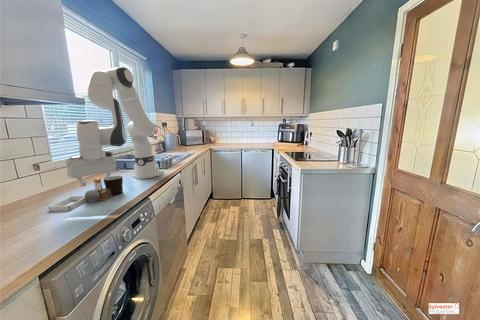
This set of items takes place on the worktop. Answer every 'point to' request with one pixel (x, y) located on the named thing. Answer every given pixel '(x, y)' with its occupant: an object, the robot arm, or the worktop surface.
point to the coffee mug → (114, 185)
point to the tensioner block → (97, 195)
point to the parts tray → (59, 206)
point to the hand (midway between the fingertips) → (95, 183)
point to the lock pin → (98, 184)
